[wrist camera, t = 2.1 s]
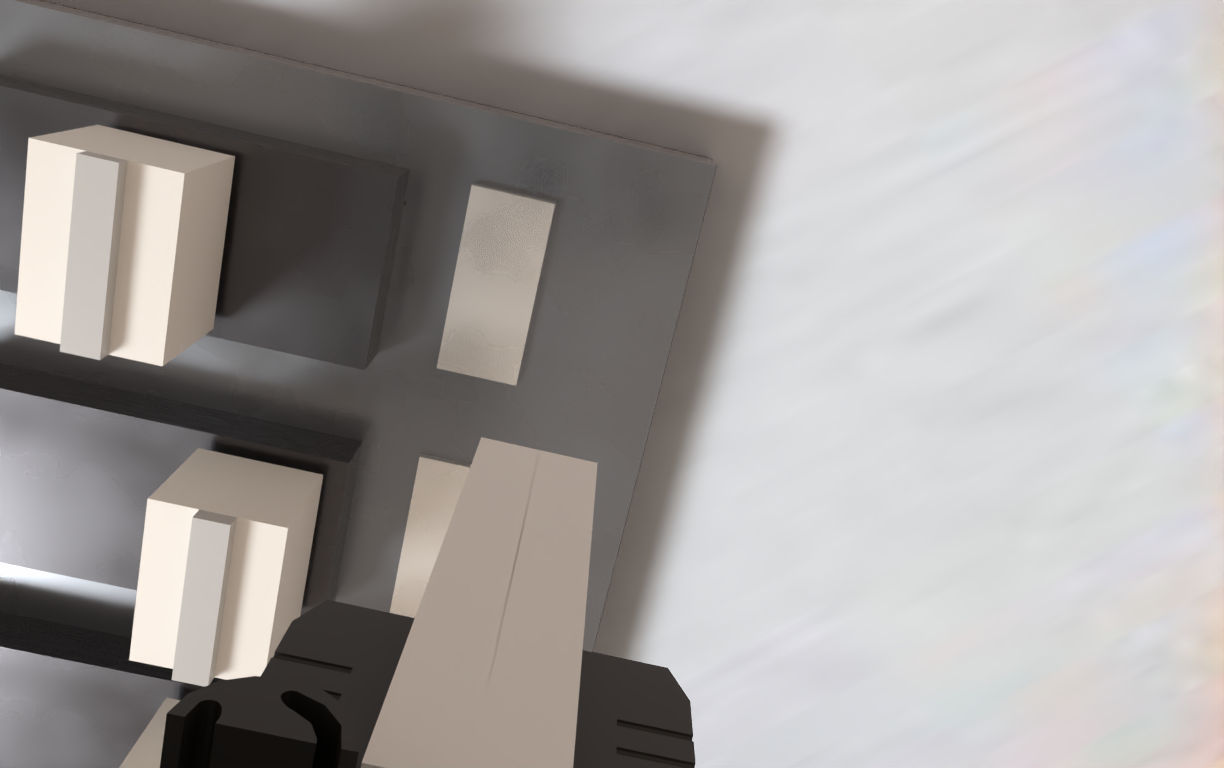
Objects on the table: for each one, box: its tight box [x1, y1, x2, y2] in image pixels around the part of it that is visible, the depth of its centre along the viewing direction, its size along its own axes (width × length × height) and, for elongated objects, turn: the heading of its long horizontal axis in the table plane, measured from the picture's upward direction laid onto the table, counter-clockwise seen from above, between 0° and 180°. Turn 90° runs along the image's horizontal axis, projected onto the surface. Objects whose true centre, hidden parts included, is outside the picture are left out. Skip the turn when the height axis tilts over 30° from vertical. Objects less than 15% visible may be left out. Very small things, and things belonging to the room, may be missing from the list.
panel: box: [0, 0, 717, 768], centre depth 29 cm, size 24×22×3 cm
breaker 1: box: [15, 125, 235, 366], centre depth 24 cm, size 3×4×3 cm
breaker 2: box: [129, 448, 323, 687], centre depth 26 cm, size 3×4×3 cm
